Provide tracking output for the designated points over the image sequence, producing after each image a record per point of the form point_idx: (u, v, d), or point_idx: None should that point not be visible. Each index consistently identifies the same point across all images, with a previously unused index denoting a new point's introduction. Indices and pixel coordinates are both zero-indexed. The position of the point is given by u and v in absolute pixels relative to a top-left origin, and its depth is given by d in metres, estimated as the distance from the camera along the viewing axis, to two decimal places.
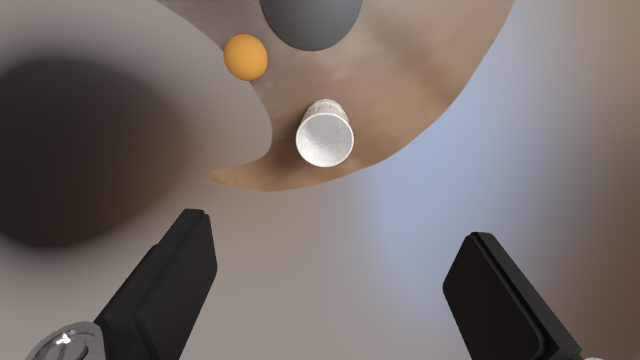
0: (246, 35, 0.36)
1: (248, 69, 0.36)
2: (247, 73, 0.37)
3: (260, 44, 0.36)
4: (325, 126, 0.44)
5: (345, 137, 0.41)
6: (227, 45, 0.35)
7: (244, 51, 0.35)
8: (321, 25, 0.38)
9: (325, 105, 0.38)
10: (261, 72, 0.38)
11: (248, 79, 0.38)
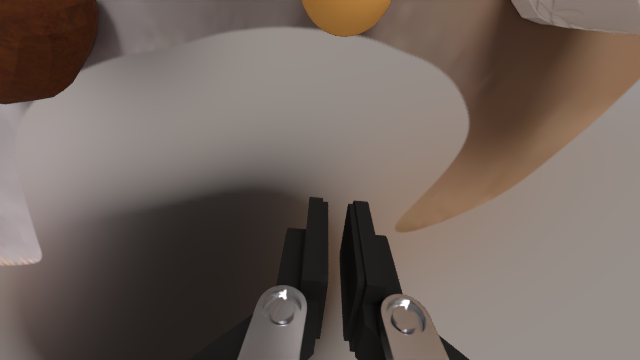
0: None
1: None
2: None
3: None
4: None
5: None
6: None
7: None
8: None
9: None
10: None
11: (381, 12, 0.16)
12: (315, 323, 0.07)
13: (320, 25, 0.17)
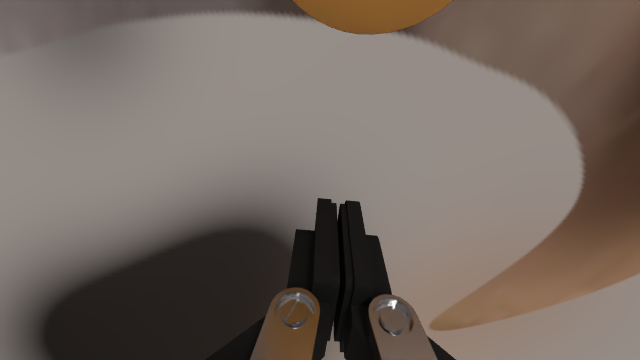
0: None
1: None
2: None
3: None
4: None
5: None
6: None
7: None
8: None
9: None
10: None
11: None
12: (327, 326, 0.07)
13: (305, 4, 0.06)
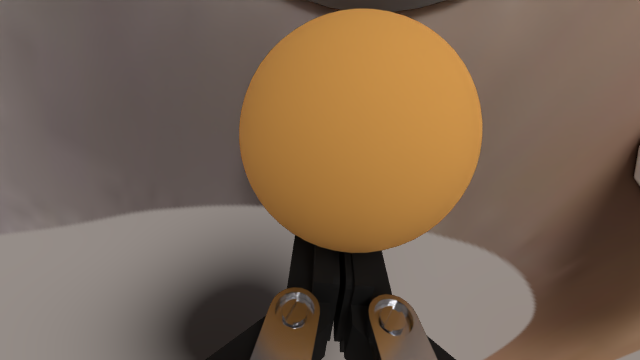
0: None
1: (455, 127, 0.05)
2: (459, 165, 0.05)
3: None
4: None
5: None
6: (247, 133, 0.06)
7: (359, 44, 0.05)
8: None
9: None
10: None
11: (455, 202, 0.06)
12: (327, 326, 0.07)
13: (294, 233, 0.06)
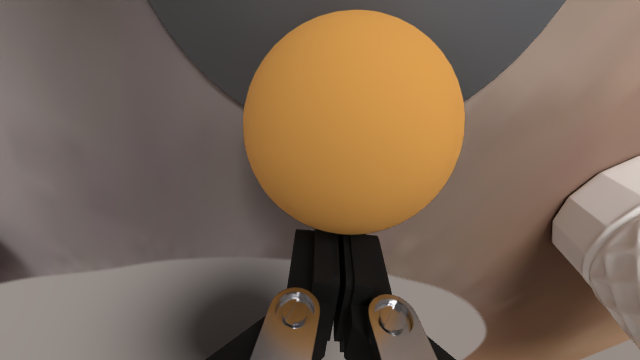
0: None
1: (424, 35, 0.06)
2: (441, 53, 0.06)
3: None
4: None
5: None
6: (258, 71, 0.06)
7: None
8: None
9: None
10: None
11: (461, 115, 0.06)
12: (327, 325, 0.07)
13: (299, 146, 0.05)
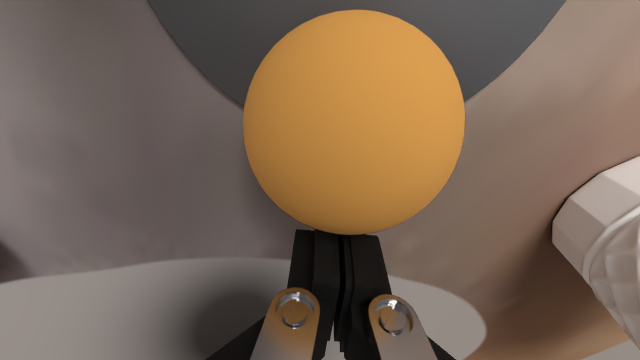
0: None
1: (424, 35, 0.06)
2: (441, 53, 0.06)
3: None
4: None
5: None
6: (258, 71, 0.06)
7: None
8: None
9: None
10: None
11: (461, 115, 0.06)
12: (327, 326, 0.07)
13: (299, 146, 0.05)
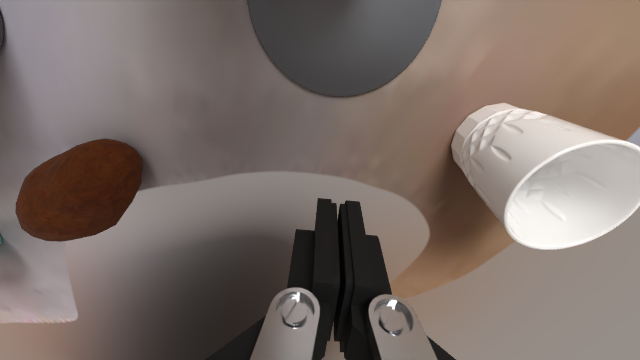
0: None
1: None
2: None
3: None
4: None
5: (579, 150, 0.19)
6: None
7: None
8: (392, 23, 0.20)
9: (505, 133, 0.18)
10: None
11: None
12: (327, 326, 0.07)
13: None
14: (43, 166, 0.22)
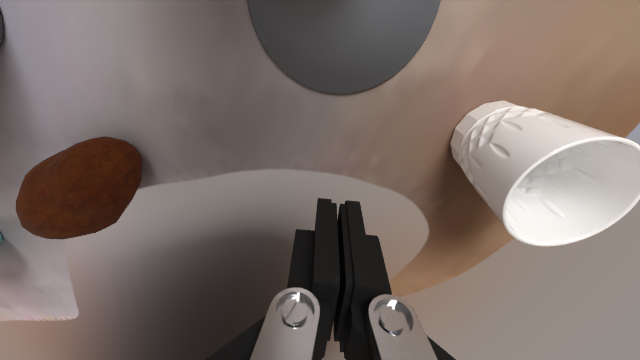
0: None
1: None
2: None
3: None
4: None
5: (578, 147, 0.19)
6: None
7: None
8: (391, 21, 0.20)
9: (504, 130, 0.18)
10: None
11: None
12: (327, 325, 0.07)
13: None
14: (43, 164, 0.22)
